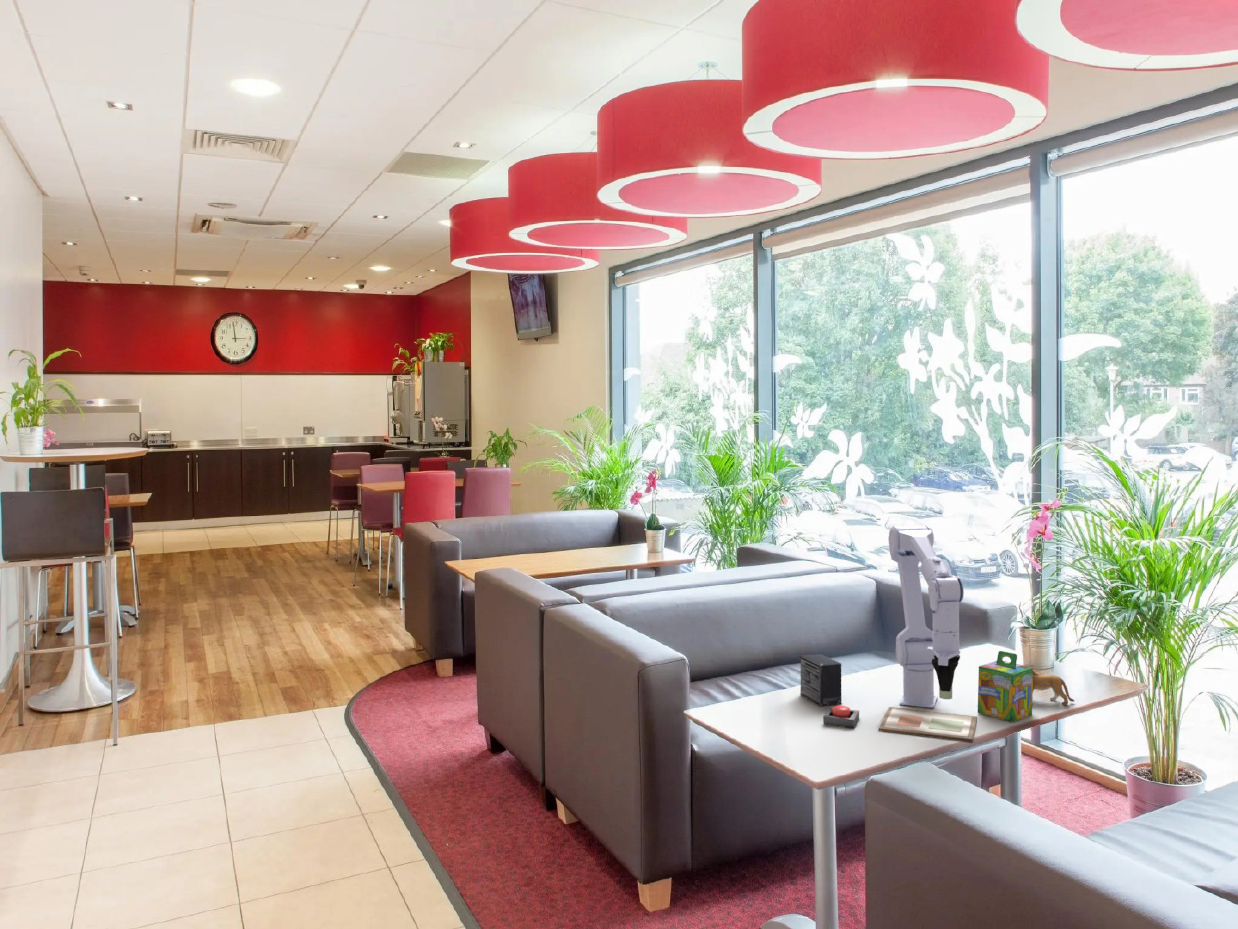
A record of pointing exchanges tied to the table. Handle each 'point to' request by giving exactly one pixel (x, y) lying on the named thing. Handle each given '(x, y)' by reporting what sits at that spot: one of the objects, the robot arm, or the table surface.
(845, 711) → the button
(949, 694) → the sage marker
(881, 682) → the table surface
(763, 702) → the table surface
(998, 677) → the chalk box
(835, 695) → the small box
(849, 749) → the table surface
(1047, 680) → the lion figurine
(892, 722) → the framed sorting board
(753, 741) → the table surface
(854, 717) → the button housing
